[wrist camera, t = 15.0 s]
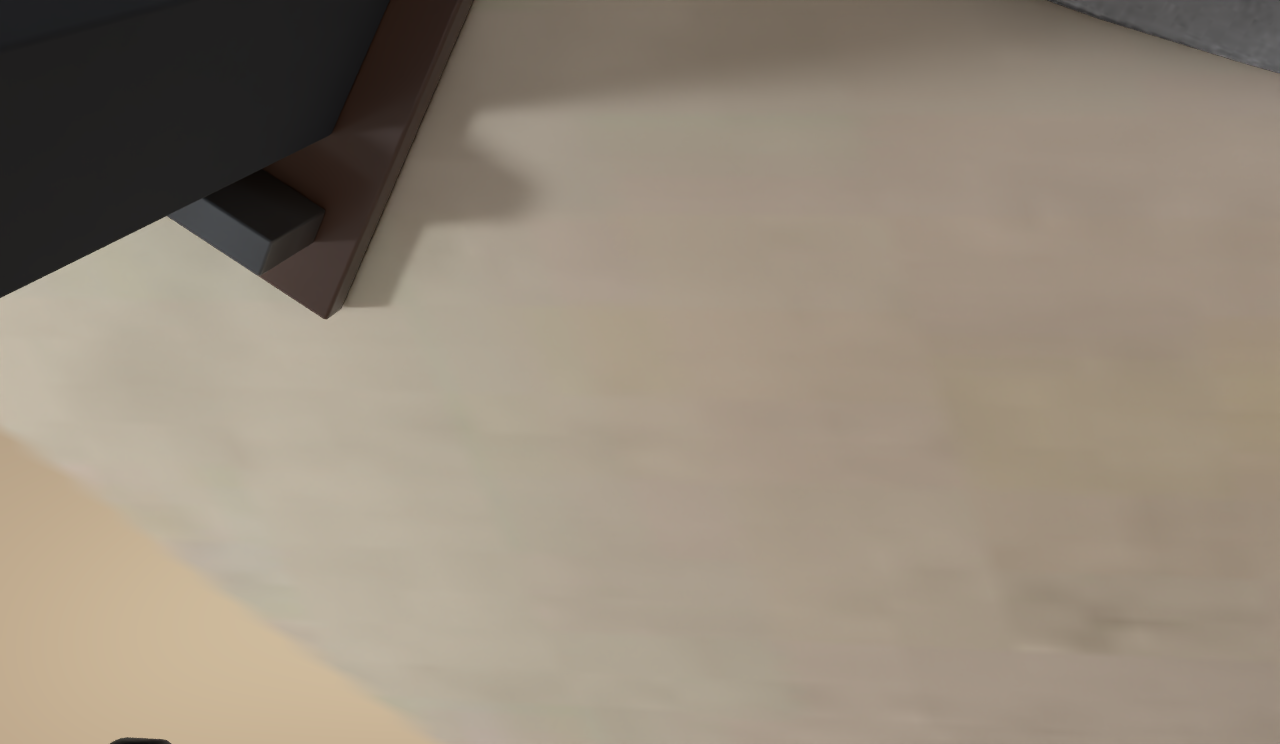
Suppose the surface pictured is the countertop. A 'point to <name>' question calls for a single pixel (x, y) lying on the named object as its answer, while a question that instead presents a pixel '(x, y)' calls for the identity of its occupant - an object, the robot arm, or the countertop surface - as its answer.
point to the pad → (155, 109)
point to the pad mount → (336, 167)
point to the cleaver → (1200, 24)
